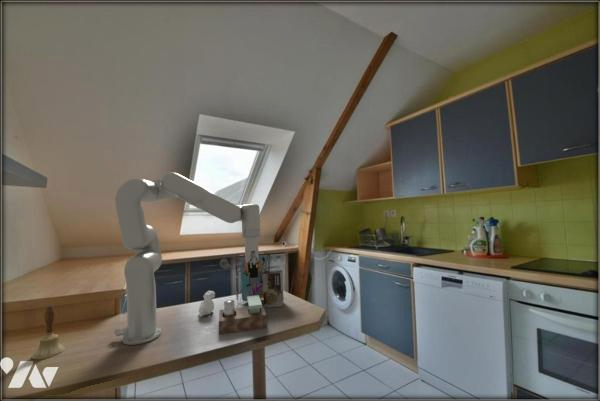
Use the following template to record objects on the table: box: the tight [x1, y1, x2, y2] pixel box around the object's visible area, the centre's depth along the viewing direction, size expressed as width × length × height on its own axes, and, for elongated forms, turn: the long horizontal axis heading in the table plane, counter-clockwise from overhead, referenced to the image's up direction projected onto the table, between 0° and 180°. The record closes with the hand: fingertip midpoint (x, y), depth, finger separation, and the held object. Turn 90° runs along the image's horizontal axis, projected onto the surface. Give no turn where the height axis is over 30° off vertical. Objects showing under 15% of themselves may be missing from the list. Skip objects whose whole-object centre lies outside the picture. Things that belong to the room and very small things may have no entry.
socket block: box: [218, 304, 267, 335], centre depth 108 cm, size 18×12×5 cm, turn 105°
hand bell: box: [31, 305, 66, 361], centre depth 91 cm, size 8×8×16 cm
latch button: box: [246, 295, 263, 314], centre depth 109 cm, size 5×12×6 cm, turn 15°
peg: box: [223, 299, 235, 317], centre depth 107 cm, size 4×4×10 cm
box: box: [219, 251, 272, 305], centre depth 133 cm, size 25×6×24 cm, turn 115°
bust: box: [198, 290, 216, 318], centre depth 121 cm, size 12×8×11 cm
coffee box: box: [262, 269, 285, 308], centre depth 130 cm, size 9×6×16 cm
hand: (253, 274), depth 110 cm, fingers open, 9 cm apart
